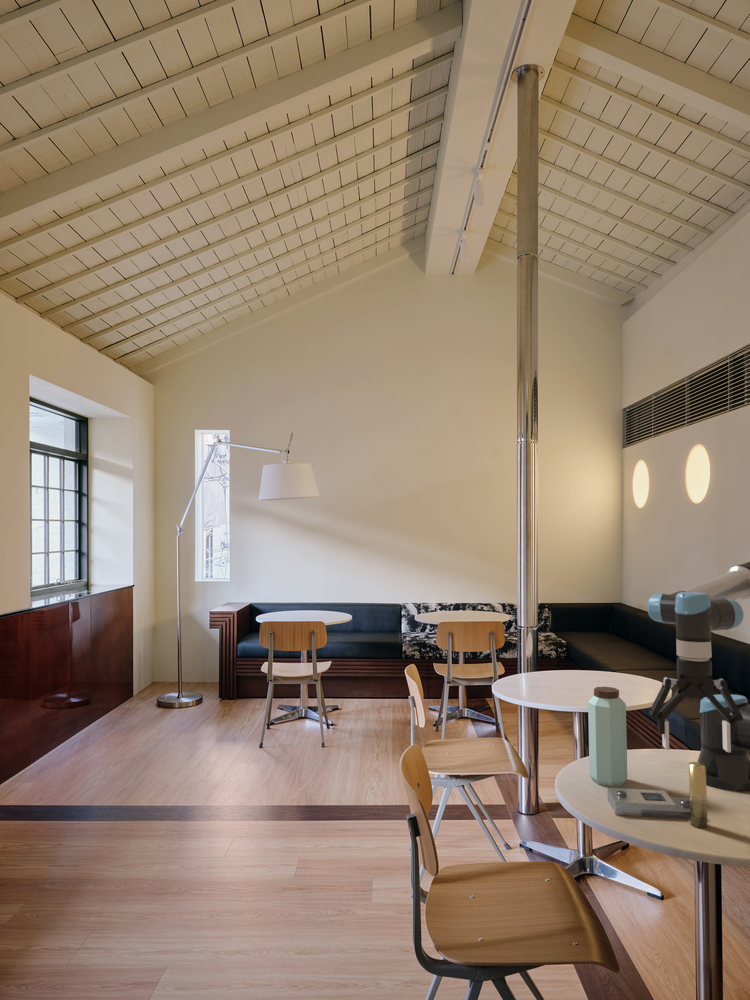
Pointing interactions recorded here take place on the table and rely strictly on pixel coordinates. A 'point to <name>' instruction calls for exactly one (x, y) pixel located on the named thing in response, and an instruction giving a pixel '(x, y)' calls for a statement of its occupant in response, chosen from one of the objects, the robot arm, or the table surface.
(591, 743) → the water bottle
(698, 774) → the pin
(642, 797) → the chain ends
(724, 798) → the table surface
